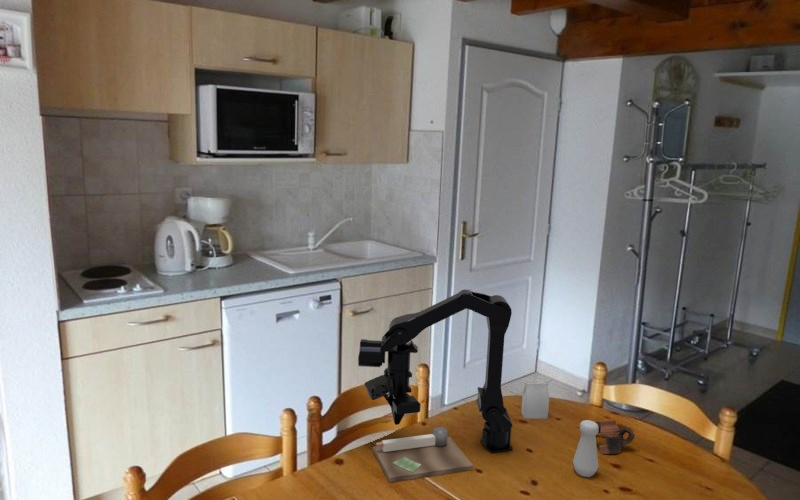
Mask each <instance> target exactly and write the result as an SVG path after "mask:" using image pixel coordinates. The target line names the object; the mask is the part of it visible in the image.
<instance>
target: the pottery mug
mask: <svg viewBox="0 0 800 500" xmlns="http://www.w3.org/2000/svg"><path fill="white" fill-rule="evenodd" d="M594 422H595V423H597V425H598V427H599V431H598V433H597V434H600V435H601V437H602V438H603V439H605V442H606V444H605V443H604V444H599V451H600V454H603V455H608V454H610V455H612V454H614V455H615V454H621V453H622V449H623V448H624V447H625V446H627V445H629V444H631V443H632V442H633V440H634V439H635V436H636V435H635V434H634V431H633V430H632V428H630V427H626V426H624V427H620V426H618V425H617V423H616V420H614V419H613V420H604V421H603V420H601V421H594ZM627 433H628V436H627V438H626V439H625V437H624V436H625V434H627Z"/></svg>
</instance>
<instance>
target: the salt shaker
mask: <svg viewBox="0 0 800 500" xmlns="http://www.w3.org/2000/svg"><path fill="white" fill-rule="evenodd" d="M595 422H596V421H593V420H589V419H585V420H582V421H581V422H580V423H579V431H580V432H581V434H580V437H579V438H580V439H579V442H578V444H577V448H576V451H575V452H574V453H575V454H574V457H573V461H572V462H573V468H574V470H575V473H576V474H577V475H579V476H580V477H584V478H591V477H593V476H594V475H595V474H596V472H597V470H598V468H599V461H598V446H597V438H596V436H597V434H599V433H598V431H599V427H598V425H597V423H595Z"/></svg>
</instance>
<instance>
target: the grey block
mask: <svg viewBox="0 0 800 500" xmlns="http://www.w3.org/2000/svg"><path fill="white" fill-rule="evenodd" d="M549 388H550V387H549V383H547V382H546V383H545V382H541V383H538V382H536V383H535V382H534V383H533V382H531V383H530V382H528V383H527V382H525V384H524V388H523V391H522V398H521V411H520V413H521V415H522V417H523V418H524V419H527V420H531V419H532V420H535V419H536V420H537V419H538V420H539V419H543V420H548V418H549V406H550V393H549Z"/></svg>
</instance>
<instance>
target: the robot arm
mask: <svg viewBox="0 0 800 500" xmlns="http://www.w3.org/2000/svg"><path fill="white" fill-rule="evenodd" d="M464 310H469V311H472V312H474V313H477V314H479V315H481V316H483V317H485V318H486V324H487V329H488V333H487V349H486V351H487V352H486V364H485V365H486V366H485V380H484V381H485V382H484V384H483V387H477V394H478V395H477V399H476V405H477V408H478V412H479V413H481V417H482V419H483V420H484V421H485V422H484V424H483V425H484V427H483V428H482V433H481V438H480V443H481V444H482V445H483V446H484V447H485V448H486V449H487V450H488V452H490V453H491V454H492V453H500V452H509V451H512V450H514V447H513V445H511V439H512V438H511V436H512V435H511V434H512V427H513V422H512V420H511V417H510V414H509V411H508V409H507V408H506V407H505V405H504V399H503V398H504V397H503V392H502V376H503V361H504V349H505V348H504V347H505V346H504V344H505V336H506V333H507V330H508V328H509V325H510V322H511V318H512V311H513V310H512V307H511V306H510V304H509V303H508V301H507V300H506V299H505V297H503V296H502V295H498V294H495V295H494V294H493V295H488V294H486V293H482V292H481V293H480V292H476V291H472V290H469V289H465V288H464V289H461V290H460V291H458V292H457V293H455V294H454V295H451V296H449V297H447V298H445V299H444V300H441V301H438V302H437V303H435V304H433V305H431V306H429V307H426V308H424V309H422V310H420V311H418V312H415V313H407V314H403V315H399V316H397V317H394V318H393V319H391V321H390V323H389V326H388V330H387V331H386V332H385V334H384V335H383V336H382V337H381V340H368V339H364V338H363V339H360V341H359V342H360V343H359V353H358V358H357V361H358V364H357V365H358V367H363V368H364V367H366V368H381V367H382V366H383V364H386V353H387V367H385V369H384V370H383V374H381V375H379V376H377V377H375V378H374V377H373V378H372V379H370V380H367V381H365V382H364V387H365V390H366V393H367V395H368V396H369V399H371V401H376V400H377V399H380V398H383V397H384V399H385V400H386V402H387V404H388V406H390V411H391V414H392V420H393V423H394V425H397V426H399V424H400V423H401V421H402V419H403V418H404V416H405V415H408V414H417V413H421V408H422V407H421V406H422V405H421V403H420V401H419V400H418V399H417V398H416V397H415V396H414V395H410V393H412V388H411V386H410V378H413V373H412V372H411V371H410V370H411V353H412V354H417V353H419V348H418V346H417V344H415V343H414V339H415V338H416V337H418V335H420V333H422V332H423V331H424V330H425V329H427V328H429V327H431V326H433V325H435V324H437V323H440V322H441V321H443V320H445V319H447V318H450V317H452V316H454V315H455V314H458V313H460V312H462V311H464Z"/></svg>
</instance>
